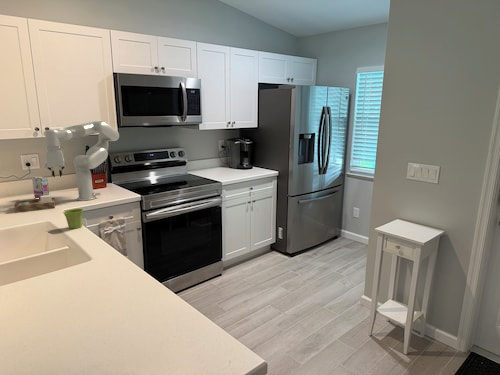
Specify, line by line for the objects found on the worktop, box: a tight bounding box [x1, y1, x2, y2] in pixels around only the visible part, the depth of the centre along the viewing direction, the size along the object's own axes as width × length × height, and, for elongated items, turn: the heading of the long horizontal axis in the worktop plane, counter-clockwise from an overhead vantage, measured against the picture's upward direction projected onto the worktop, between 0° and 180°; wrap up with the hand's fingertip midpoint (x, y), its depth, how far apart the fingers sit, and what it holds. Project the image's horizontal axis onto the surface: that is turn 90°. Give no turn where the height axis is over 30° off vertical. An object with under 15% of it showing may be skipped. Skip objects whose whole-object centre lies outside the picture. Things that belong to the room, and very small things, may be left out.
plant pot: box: [62, 208, 84, 230], centre depth 175 cm, size 9×9×9 cm
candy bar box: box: [31, 176, 50, 199], centre depth 250 cm, size 11×5×16 cm, turn 62°
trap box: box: [14, 197, 56, 214], centre depth 223 cm, size 21×18×5 cm
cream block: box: [40, 194, 52, 203], centre depth 226 cm, size 6×5×4 cm
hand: (57, 176), depth 227 cm, fingers open, 3 cm apart
